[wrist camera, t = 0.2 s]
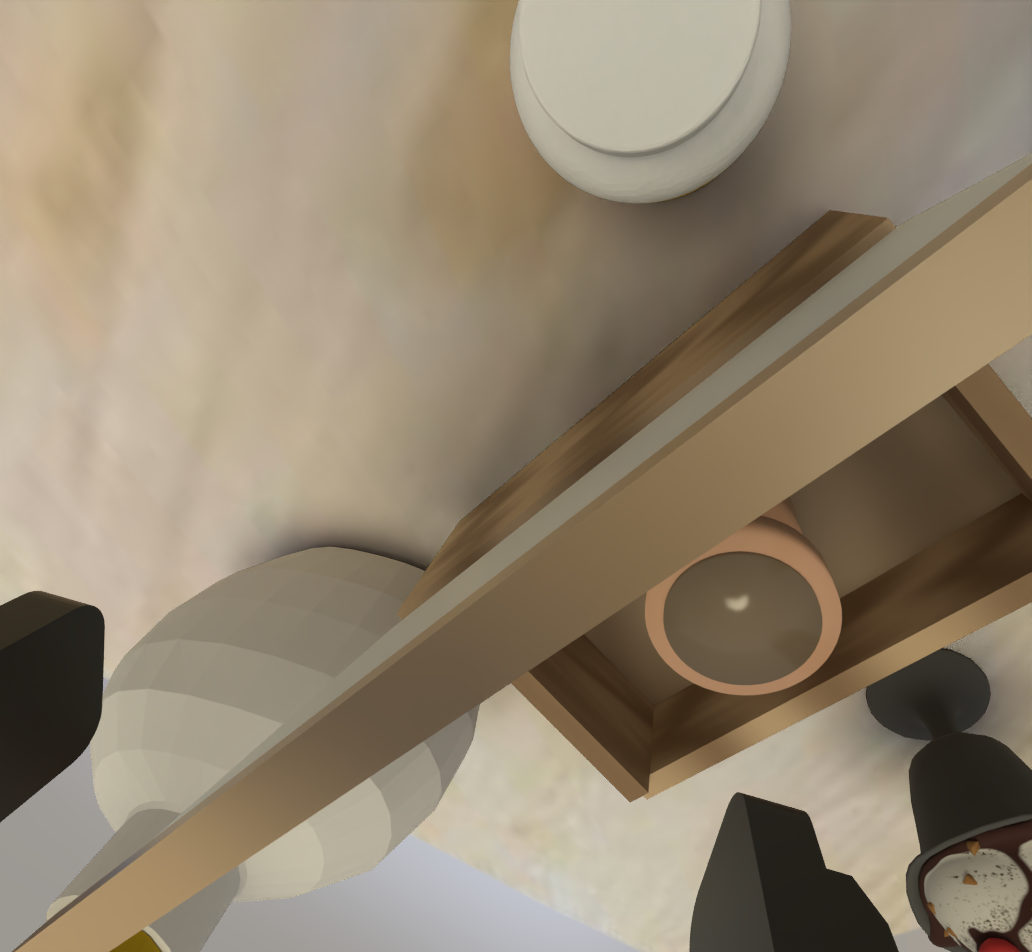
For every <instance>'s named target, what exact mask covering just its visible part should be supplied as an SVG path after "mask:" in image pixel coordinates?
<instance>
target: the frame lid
mask: <svg viewBox="0 0 1032 952" xmlns="http://www.w3.org/2000/svg"><path fill="white" fill-rule="evenodd" d="M1031 334H1032V154H1030V155H1028V156H1026V157H1024V158H1022V159H1020V160H1019V161H1017V162H1015V163H1013V164H1011V165H1009V166H1007V167H1006V168H1004V169H1002V170H1000V171H998V172H996V173H995V174H993V175H991V176H989V177H987V178H985V179H983V180H982V181H980V182H978V183H976V184H974V185H972V186H971V187H969V188H967V189H965V190H963V191H961V192H959V193H958V194H956V195H954V196H952V197H950V198H948V199H947V200H945V201H943V202H941V203H939V204H937V205H935V206H934V207H932V208H930V209H928V210H926V211H924V212H923V213H921V214H919V215H917V216H915V217H913V218H911V219H910V220H908V221H906V222H904V223H902V224H900V225H899V226H898V227H897V228H895V229H894V230H893V231H892V232H890V233H889V234H888V235H887V236H885V237H884V238H883V239H882V240H880V241H879V242H878V243H876V244H875V245H874V246H873V247H871V248H870V249H869V250H868V251H866V252H865V253H864V254H863V255H861V256H860V257H859V258H858V259H856V260H855V261H854V262H853V263H851V264H850V265H849V266H848V267H846V268H845V269H844V270H842V271H841V272H840V273H839V274H837V275H836V276H835V277H834V278H832V279H831V280H830V281H829V282H827V283H826V284H825V285H824V286H822V287H821V288H820V289H819V290H817V291H816V292H815V293H814V294H812V295H811V296H810V297H808V298H807V299H806V300H805V301H803V302H802V303H801V304H800V305H798V306H797V307H796V308H795V309H793V310H792V311H791V312H790V313H788V314H787V315H786V316H785V317H783V318H782V319H781V320H780V321H778V322H777V323H776V324H774V325H773V326H772V327H771V328H769V329H768V330H767V331H766V332H764V333H763V334H762V335H761V336H759V337H758V338H757V339H756V340H754V341H753V342H752V343H751V344H749V345H748V346H747V347H746V348H744V349H743V350H742V351H740V352H739V353H738V354H737V355H735V356H734V357H733V358H732V359H730V360H729V361H728V362H727V363H725V364H724V365H723V366H722V367H720V368H719V369H718V370H717V371H715V372H714V373H713V374H712V375H710V376H709V377H708V378H706V379H705V380H704V381H703V382H701V383H700V384H699V385H698V386H696V387H695V388H694V389H693V390H691V391H690V392H689V393H688V394H686V395H685V396H684V397H683V398H681V399H680V400H679V401H678V402H676V403H675V404H674V405H672V406H671V407H670V408H669V409H667V410H666V411H665V412H664V413H662V414H661V415H660V416H659V417H657V418H656V419H655V420H654V421H652V422H651V423H650V424H649V425H647V426H646V427H645V428H644V429H642V430H641V431H640V432H638V433H637V434H636V435H635V436H633V437H632V438H631V439H630V440H628V441H627V442H626V443H625V444H623V445H622V446H621V447H620V448H618V449H617V450H616V451H615V452H613V453H612V454H611V455H610V456H608V457H607V458H606V459H604V460H603V461H602V462H601V463H599V464H598V465H597V466H596V467H594V468H593V469H592V470H591V471H589V472H588V473H587V474H586V475H584V476H583V477H582V478H581V479H579V480H578V481H577V482H576V483H574V484H573V485H572V486H570V487H569V488H568V489H567V490H565V491H564V492H563V493H562V494H560V495H559V496H558V497H557V498H555V499H554V500H553V501H552V502H550V503H549V504H548V505H547V506H545V507H544V508H543V509H542V510H540V511H539V512H538V513H537V514H535V515H534V516H533V517H531V518H530V519H529V520H528V521H526V522H525V523H524V524H523V525H521V526H520V527H519V528H518V529H516V530H515V531H514V532H513V533H511V534H510V535H509V536H508V537H506V538H505V539H504V540H503V541H501V542H500V543H499V544H497V545H496V546H495V547H494V548H492V549H491V550H490V551H489V552H487V553H486V554H485V555H484V556H482V557H481V558H480V559H479V560H477V561H476V562H475V563H474V564H472V565H471V566H470V567H469V568H467V569H466V570H465V571H463V572H462V573H461V574H460V575H458V576H457V577H456V578H455V579H453V580H452V581H451V582H450V583H448V584H447V585H446V586H445V587H443V588H442V589H441V590H440V591H438V592H437V593H436V594H435V595H433V596H432V597H431V598H429V599H428V600H427V601H426V602H424V603H423V604H422V605H421V606H419V607H418V608H417V609H416V610H414V611H413V612H412V613H411V614H409V615H408V616H407V617H406V618H404V619H403V620H402V621H401V622H399V623H398V624H397V625H395V626H394V627H393V628H392V629H391V630H389V631H388V632H387V633H386V634H385V635H384V636H383V637H381V638H380V639H379V640H378V641H377V642H376V643H375V644H374V645H372V646H371V647H370V648H369V649H368V650H367V651H366V652H364V653H363V654H362V655H361V656H360V657H359V658H358V659H356V660H355V661H354V662H353V663H352V664H351V665H350V666H348V667H347V668H346V669H345V670H344V671H343V672H342V673H341V674H339V675H338V676H337V677H336V678H335V679H334V680H333V681H331V682H330V683H329V684H328V685H327V686H326V687H325V688H323V689H322V690H321V691H320V692H319V693H318V694H317V695H316V696H314V697H313V698H312V699H311V700H310V701H309V702H308V703H306V704H305V705H304V706H303V707H302V708H301V709H300V710H298V711H297V712H296V713H295V714H294V715H293V716H292V717H291V718H289V719H288V720H287V721H286V722H285V723H284V724H283V725H281V726H280V727H279V728H278V729H277V730H276V731H275V732H273V733H272V734H271V735H270V736H269V737H268V738H267V739H266V740H264V741H263V742H262V743H261V744H260V745H259V746H258V747H256V748H255V749H254V750H253V751H252V752H251V753H250V754H248V755H247V756H246V757H245V758H244V759H243V760H242V761H241V762H239V763H238V764H237V765H236V766H235V767H234V768H233V769H231V770H230V771H229V772H228V773H227V774H226V775H225V776H223V777H222V778H221V779H220V780H219V781H218V782H217V783H215V784H214V785H213V786H212V787H211V788H210V789H209V790H208V791H206V792H205V793H204V794H203V795H202V796H201V797H200V798H198V799H197V800H196V801H195V802H194V803H193V804H192V805H190V806H189V807H188V808H187V809H186V810H185V811H184V812H183V813H181V814H180V815H179V816H178V817H177V818H176V819H175V820H173V821H172V822H171V823H170V824H169V825H168V826H167V827H165V828H164V829H163V830H162V831H161V832H160V833H159V834H158V835H156V836H155V837H154V838H153V839H152V840H151V841H150V842H148V843H147V844H146V845H145V846H143V847H142V848H141V849H139V850H138V851H137V852H136V853H134V854H133V855H132V856H130V857H129V858H128V859H126V860H125V861H124V862H123V863H121V864H120V865H119V866H117V867H116V868H115V869H113V870H112V871H111V872H110V873H108V874H107V875H106V876H104V877H103V878H102V879H100V880H99V881H98V882H97V883H95V884H94V885H93V886H91V887H90V888H89V889H87V890H86V891H85V892H84V893H82V894H81V895H80V896H78V897H77V898H76V899H74V900H73V901H72V902H71V903H69V904H68V905H67V906H65V907H64V908H63V909H61V910H60V911H59V912H58V913H56V914H55V915H54V916H53V917H51V918H50V919H49V920H48V921H47V922H46V923H45V924H43V925H42V926H41V927H40V928H39V929H38V930H36V931H35V932H34V933H33V934H32V935H31V936H30V937H28V938H27V939H26V940H25V941H24V942H23V943H21V944H20V945H19V946H18V947H17V948H16V949H14V950H13V951H12V952H109V951H111V950H112V949H114V948H115V947H117V946H118V945H120V944H121V943H123V942H124V941H126V940H127V939H129V938H130V937H132V936H133V935H135V934H136V933H138V932H139V931H141V930H142V929H144V928H145V927H147V926H148V925H150V924H151V923H153V922H154V921H156V920H157V919H159V918H160V917H162V916H163V915H165V914H166V913H168V912H169V911H171V910H172V909H174V908H175V907H177V906H178V905H180V904H181V903H183V902H184V901H186V900H187V899H189V898H190V897H192V896H193V895H195V894H196V893H198V892H199V891H201V890H202V889H204V888H205V887H207V886H208V885H210V884H211V883H213V882H214V881H216V880H217V879H218V878H220V877H221V876H223V875H224V874H226V873H227V872H229V871H230V870H232V869H233V868H235V867H236V866H238V865H239V864H241V863H242V862H244V861H245V860H247V859H248V858H250V857H251V856H253V855H254V854H256V853H257V852H259V851H260V850H262V849H263V848H265V847H266V846H268V845H269V844H271V843H272V842H274V841H275V840H277V839H278V838H280V837H281V836H283V835H284V834H286V833H287V832H289V831H290V830H292V829H293V828H295V827H296V826H298V825H299V824H301V823H302V822H304V821H305V820H307V819H308V818H310V817H311V816H313V815H314V814H316V813H317V812H319V811H320V810H322V809H323V808H325V807H326V806H328V805H329V804H331V803H332V802H334V801H335V800H337V799H338V798H340V797H341V796H343V795H344V794H345V793H347V792H348V791H350V790H351V789H353V788H354V787H356V786H357V785H359V784H360V783H362V782H363V781H365V780H366V779H368V778H369V777H371V776H372V775H374V774H375V773H377V772H378V771H380V770H381V769H383V768H384V767H386V766H387V765H389V764H390V763H392V762H393V761H395V760H396V759H398V758H399V757H401V756H402V755H404V754H405V753H407V752H408V751H410V750H411V749H413V748H414V747H416V746H417V745H419V744H420V743H422V742H423V741H425V740H426V739H428V738H429V737H431V736H432V735H434V734H435V733H437V732H438V731H440V730H441V729H443V728H444V727H446V726H447V725H449V724H450V723H452V722H453V721H455V720H456V719H458V718H459V717H461V716H462V715H464V714H465V713H467V712H468V711H470V710H471V709H472V708H474V707H475V706H477V705H478V704H480V703H481V702H483V701H484V700H486V699H487V698H489V697H490V696H492V695H493V694H495V693H496V692H498V691H499V690H501V689H502V688H504V687H505V686H507V685H508V684H510V683H511V682H513V681H514V680H516V679H517V678H519V677H520V676H522V675H523V674H525V673H526V672H528V671H529V670H531V669H532V668H534V667H535V666H537V665H538V664H540V663H541V662H543V661H544V660H546V659H547V658H549V657H550V656H552V655H553V654H555V653H556V652H558V651H559V650H561V649H562V648H564V647H565V646H567V645H568V644H570V643H571V642H573V641H574V640H576V639H577V638H579V637H580V636H582V635H583V634H585V633H586V632H588V631H589V630H591V629H592V628H594V627H595V626H597V625H598V624H600V623H601V622H602V621H604V620H605V619H607V618H608V617H610V616H611V615H613V614H614V613H616V612H617V611H619V610H620V609H622V608H623V607H625V606H626V605H628V604H629V603H631V602H632V601H634V600H635V599H637V598H638V597H640V596H641V595H643V594H644V593H646V592H647V591H649V590H650V589H652V588H653V587H655V586H656V585H658V584H659V583H661V582H662V581H664V580H665V579H667V578H668V577H670V576H671V575H673V574H674V573H676V572H677V571H679V570H680V569H682V568H683V567H685V566H686V565H688V564H689V563H691V562H692V561H694V560H695V559H697V558H698V557H700V556H701V555H703V554H704V553H706V552H707V551H709V550H710V549H712V548H713V547H715V546H716V545H718V544H719V543H721V542H722V541H724V540H725V539H727V538H728V537H729V536H731V535H732V534H734V533H735V532H737V531H738V530H740V529H741V528H743V527H744V526H746V525H747V524H749V523H750V522H752V521H753V520H755V519H756V518H758V517H759V516H761V515H762V514H764V513H765V512H767V511H768V510H770V509H771V508H773V507H774V506H776V505H777V504H779V503H780V502H782V501H783V500H785V499H786V498H788V497H789V496H791V495H792V494H794V493H795V492H797V491H798V490H800V489H801V488H803V487H804V486H806V485H807V484H809V483H810V482H812V481H813V480H815V479H816V478H818V477H819V476H821V475H822V474H824V473H825V472H827V471H828V470H830V469H831V468H833V467H834V466H836V465H837V464H839V463H840V462H842V461H843V460H845V459H846V458H848V457H849V456H851V455H852V454H854V453H855V452H856V451H858V450H859V449H861V448H862V447H864V446H865V445H867V444H868V443H870V442H871V441H873V440H874V439H876V438H877V437H879V436H880V435H882V434H883V433H885V432H886V431H888V430H889V429H891V428H892V427H894V426H895V425H897V424H898V423H900V422H901V421H903V420H904V419H906V418H907V417H909V416H910V415H912V414H913V413H915V412H916V411H918V410H919V409H921V408H922V407H924V406H925V405H927V404H928V403H930V402H931V401H933V400H934V399H936V398H937V397H939V396H940V395H942V394H943V393H945V392H946V391H948V390H949V389H951V388H952V387H954V386H955V385H957V384H958V383H960V382H961V381H963V380H964V379H966V378H967V377H969V376H970V375H972V374H973V373H975V372H976V371H978V370H979V369H981V368H982V367H983V366H985V365H986V364H988V363H989V362H991V361H992V360H994V359H995V358H997V357H998V356H1000V355H1001V354H1003V353H1004V352H1006V351H1007V350H1009V349H1010V348H1012V347H1013V346H1015V345H1016V344H1018V343H1019V342H1021V341H1022V340H1024V339H1025V338H1027V337H1028V336H1030V335H1031Z"/></svg>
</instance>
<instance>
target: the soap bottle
mask: <svg viewBox="0 0 1032 952" xmlns="http://www.w3.org/2000/svg"><path fill="white" fill-rule="evenodd" d="M424 572H425V571H424V570H421V569H419V568H416V567H414V566H411V565H409V564H406V563H403V562H400V561H397V560H393V559H390V558H386V557H383V556H379V555H375V554H371V553H367V552H362V551H358V550H353V549H345V548H338V547H320V548H311V549H307V550H304V551H300V552H296V553H292V554H289V555H285V556H282V557H279V558H276V559H273V560H270V561H267V562H265V563H262V564H259V565H256V566H253V567H250V568H247V569H244V570H242V571H239V572H236V573H234V574H232V575H230V576H228V577H226V578H224V579H222V580H220V581H218V582H216V583H215V584H213V585H212V586H210V587H209V588H207V589H205V590H204V591H202V592H201V593H199V594H198V595H196V596H194V597H193V598H191V599H190V600H188V601H187V602H185V603H183V604H182V605H180V606H179V607H177V608H175V609H174V610H172V611H171V612H169V613H168V614H167V615H166V616H165V617H164V618H163V619H162V620H161V621H160V622H159V623H158V624H157V625H156V626H155V627H154V628H153V629H152V630H151V631H150V632H148V633H147V634H146V635H145V636H144V637H143V638H142V639H141V640H140V641H139V642H138V643H137V644H136V645H135V646H134V647H133V648H132V649H131V650H130V651H129V652H128V653H127V654H126V655H125V656H124V657H123V659H122V660H121V662H120V663H119V665H118V666H117V668H116V669H115V671H114V672H113V675H112V677H111V679H110V681H109V683H108V685H107V687H106V689H105V691H104V693H103V697H102V714H101V718H100V722H99V725H98V728H97V730H96V732H95V734H94V736H93V738H92V740H91V741H90V750H91V761H92V773H93V785H94V791H95V794H96V797H97V801H98V805H99V807H100V809H101V810H102V812H103V813H104V815H105V817H106V818H107V820H108V822H109V824H110V825H111V826H112V828H113V829H114V831H115V832H116V833H115V834H114V835H113V837H112V838H111V839H110V840H109V841H108V842H107V843H106V844H105V845H104V846H103V848H102V849H101V850H100V851H99V852H98V853H97V854H96V855H95V856H94V857H93V859H92V860H91V861H90V862H89V863H88V864H87V866H85V868H84V869H83V870H82V871H81V872H80V873H79V874H78V875H77V876H76V877H75V879H74V880H73V881H72V882H71V883H70V884H69V885H68V886H67V887H66V889H65V890H64V891H63V892H62V893H61V894H60V895H59V897H57V899H56V900H55V901H54V902H53V903H52V904H51V906H50V908H49V910H48V912H47V914H46V920H47V921H48V920H49V919H50V918H51V917H53V916H54V915H55V914H56V913H58V912H59V911H60V910H61V909H63V908H64V907H65V906H67V905H68V904H69V903H71V902H72V901H73V900H74V899H76V898H77V897H78V896H80V895H81V894H82V893H84V892H85V891H86V890H87V889H89V888H90V887H91V886H93V885H94V884H95V883H97V882H98V881H99V880H100V879H102V878H103V877H104V876H106V875H107V874H108V873H110V872H111V871H112V870H113V869H115V868H116V867H117V866H119V865H120V864H121V863H123V862H124V861H125V860H126V859H128V858H129V857H130V856H132V855H133V854H134V853H136V852H137V851H138V850H139V849H141V848H142V847H143V846H145V845H146V844H147V843H148V842H150V841H151V840H152V839H153V838H154V837H155V836H156V835H158V834H159V833H160V832H161V831H162V830H163V829H164V828H165V827H167V826H168V825H169V824H170V823H171V822H172V821H173V820H175V819H176V818H177V817H178V816H179V815H180V814H181V813H183V812H184V811H185V810H186V809H187V808H188V807H189V806H190V805H192V804H193V803H194V802H195V801H196V800H197V799H198V798H200V797H201V796H202V795H203V794H204V793H205V792H206V791H208V790H209V789H210V788H211V787H212V786H213V785H214V784H215V783H217V782H218V781H219V780H220V779H221V778H222V777H223V776H225V775H226V774H227V773H228V772H229V771H230V770H231V769H233V768H234V767H235V766H236V765H237V764H238V763H239V762H241V761H242V760H243V759H244V758H245V757H246V756H247V755H248V754H250V753H251V752H252V751H253V750H254V749H255V748H256V747H258V746H259V745H260V744H261V743H262V742H263V741H264V740H266V739H267V738H268V737H269V736H270V735H271V734H272V733H273V732H275V731H276V730H277V729H278V728H279V727H280V726H281V725H283V724H284V723H285V722H286V721H287V720H288V719H289V718H291V717H292V716H293V715H294V714H295V713H296V712H297V711H298V710H300V709H301V708H302V707H303V706H304V705H305V704H306V703H308V702H309V701H310V700H311V699H312V698H313V697H314V696H316V695H317V694H318V693H319V692H320V691H321V690H322V689H323V688H325V687H326V686H327V685H328V684H329V683H330V682H331V681H333V680H334V679H335V678H336V677H337V676H338V675H339V674H341V673H342V672H343V671H344V670H345V669H346V668H347V667H348V666H350V665H351V664H352V663H353V662H354V661H355V660H356V659H358V658H359V657H360V656H361V655H362V654H363V653H364V652H366V651H367V650H368V649H369V648H370V647H371V646H372V645H374V644H375V643H376V642H377V641H378V640H379V639H380V638H381V637H383V636H384V635H385V634H386V633H387V632H388V631H389V630H391V629H392V628H393V627H394V626H395V625H397V624H398V623H399V622H401V621H402V619H401V618H400V617H399V616H398V615H397V614H396V613H397V612H398V611H399V609H400V608H401V606H402V605H403V603H404V602H405V600H406V599H407V597H408V596H409V594H410V593H411V592H412V590H413V589H414V587H415V586H416V584H417V583H418V581H419V580H420V578H421V577H422V575H423V574H424ZM479 705H480V704H478V705H477V706H475V707H474V708H472V709H471V710H470V711H468V712H467V713H465V714H464V715H462V716H461V717H459V718H458V719H456V720H455V721H453V722H452V723H450V724H449V725H447V726H446V727H444V728H443V729H441V730H440V731H438V732H437V733H435V734H434V735H432V736H431V737H429V738H428V739H426V740H425V741H423V742H422V743H420V744H419V745H417V746H416V747H414V748H413V749H411V750H410V751H408V752H407V753H405V754H404V755H402V756H401V757H399V758H398V759H396V760H395V761H393V762H392V763H390V764H389V765H387V766H386V767H384V768H383V769H381V770H380V771H378V772H377V773H375V774H374V775H372V776H371V777H369V778H368V779H366V780H365V781H363V782H362V783H360V784H359V785H357V786H356V787H354V788H353V789H351V790H350V791H348V792H347V793H345V794H344V795H343V796H341V797H340V798H338V799H337V800H335V801H334V802H332V803H331V804H329V805H328V806H326V807H325V808H323V809H322V810H320V811H319V812H317V813H316V814H314V815H313V816H311V817H310V818H308V819H307V820H305V821H304V822H302V823H301V824H299V825H298V826H296V827H295V828H293V829H292V830H290V831H289V832H287V833H286V834H284V835H283V836H281V837H280V838H278V839H277V840H275V841H274V842H272V843H271V844H269V845H268V846H266V847H265V848H263V849H262V850H260V851H259V852H257V853H256V854H254V855H253V856H251V857H250V858H248V859H247V860H245V861H244V862H242V863H241V864H239V865H238V866H236V867H235V868H233V869H232V870H230V871H229V872H227V873H226V874H224V875H223V876H221V877H220V878H218V879H217V880H216V881H214V882H213V883H211V884H210V885H208V886H207V887H205V888H204V889H202V890H201V891H199V892H198V893H196V894H195V895H193V896H192V897H190V898H189V899H187V900H186V901H184V902H183V903H181V904H180V905H178V906H177V907H175V908H174V909H172V910H171V911H169V912H168V913H166V914H165V915H163V916H162V917H160V918H159V919H157V920H156V921H154V922H153V923H151V924H150V925H148V926H147V927H145V928H144V929H142V930H141V931H139V932H138V933H136V934H135V935H133V936H132V937H130V938H129V939H127V940H126V941H124V942H123V943H121V944H120V945H118V946H117V947H115V948H114V949H112V950H111V951H109V952H200V951H201V949H202V948H203V946H204V944H205V943H206V941H207V940H208V938H209V937H210V935H211V933H212V932H213V930H214V929H215V927H216V925H217V924H218V922H219V921H220V919H221V917H222V916H223V914H224V913H225V911H226V909H227V908H228V906H229V905H230V903H232V902H244V901H257V900H269V899H280V898H292V897H295V896H297V895H301V894H304V893H307V892H310V891H312V890H315V889H318V888H321V887H324V886H327V885H330V884H333V883H336V882H339V881H341V880H345V879H348V878H350V877H353V876H356V875H359V874H362V873H364V872H367V871H370V870H372V869H373V868H374V867H375V866H376V865H377V864H378V863H379V862H380V861H381V860H383V859H384V858H385V857H386V856H387V855H388V854H389V853H390V852H391V851H392V850H393V849H394V848H395V847H396V846H397V845H398V844H400V843H401V842H402V841H403V840H404V839H405V838H406V837H407V836H408V835H409V834H410V833H411V832H412V831H413V830H414V829H415V828H416V827H417V826H419V825H420V824H421V823H422V822H423V821H424V820H425V819H426V818H427V817H428V816H429V815H430V814H431V813H432V812H433V811H434V810H435V808H436V807H437V805H438V803H439V801H440V799H441V798H442V796H443V794H444V792H445V791H446V789H447V787H448V785H449V784H450V782H451V780H452V778H453V777H454V775H455V773H456V771H457V770H458V768H459V766H460V764H461V763H462V761H463V759H464V757H465V755H466V753H467V751H468V749H469V747H470V745H471V742H472V740H473V736H474V731H475V726H476V721H477V715H478V710H479ZM47 921H46V922H47Z"/></svg>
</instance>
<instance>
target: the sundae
mask: <svg viewBox="0 0 1032 952" xmlns="http://www.w3.org/2000/svg"><path fill="white" fill-rule="evenodd" d="M866 698H867V703H868V706H869V709H870V711H871V713H872V714H873V716H874V717H875V718H876V719H877V720H878V721H879V722H880V723H881V724H882V725H883V726H884V727H886V728H888V729H889V730H891V731H893V732H895V733H897V734H899V735H902V736H904V737H908V738H913V739H920V740H933V741H931V742H930V743H928V744H927V745H926V746H925V747H924V748H923V749H921V750H920V751H919V752H918V753H917V754H916V755H915V756H914V758H913V759H912V762H911V765H910V769H909V782H910V794H911V804H912V809H913V813H914V818H915V823H916V828H917V833H918V838H919V843H920V850H921V854H919V855H918V856H916V857H915V859H914V860H913V861H912V862H911V863H910V864H909V866H908V870H907V873H906V891H907V896H908V899H909V902H910V906H911V908H912V911H913V913H914V915H915V918H916V920H917V922H918V924H919V925H920V926H921V927H922V929H923V930H924V931H925V932H926V933H927V935H928V938H929V940H930V941H931V942H932V943H933V944H934V945H936V946H938V947H942V948H944V949H947V950H949V951H951V952H1032V770H1031V769H1030V768H1029V767H1028V766H1027V765H1026V764H1025V763H1024V762H1023V761H1022V760H1021V759H1020V758H1019V757H1018V756H1017V755H1016V754H1015V753H1014V752H1013V751H1012V750H1011V749H1010V748H1008V747H1007V746H1006V745H1004V744H1002V743H1001V742H999V741H997V740H995V739H993V738H991V737H988V736H983V735H976V734H969V733H961V732H962V731H963V730H965V729H967V728H969V727H971V726H972V725H973V724H975V723H976V722H977V721H978V720H979V719H980V718H981V717H982V716H983V714H984V713H985V711H986V709H987V706H988V704H989V699H990V687H989V683H988V680H987V677H986V675H985V674H984V672H983V671H982V670H981V669H980V667H979V666H977V665H976V664H975V663H974V662H973V661H972V660H970V659H968V658H967V657H965V656H963V655H961V654H958V653H956V652H953V651H950V650H944V649H939V650H937V651H935V652H933V653H931V654H929V655H927V656H925V657H923V658H922V659H920V660H918V661H916V662H914V663H912V664H910V665H908V666H906V667H904V668H902V669H900V670H898V671H896V672H894V673H892V674H890V675H888V676H886V677H884V678H883V679H881V680H879V681H877V682H875V683H873V684H871V685H869V686H867V692H866Z"/></svg>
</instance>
